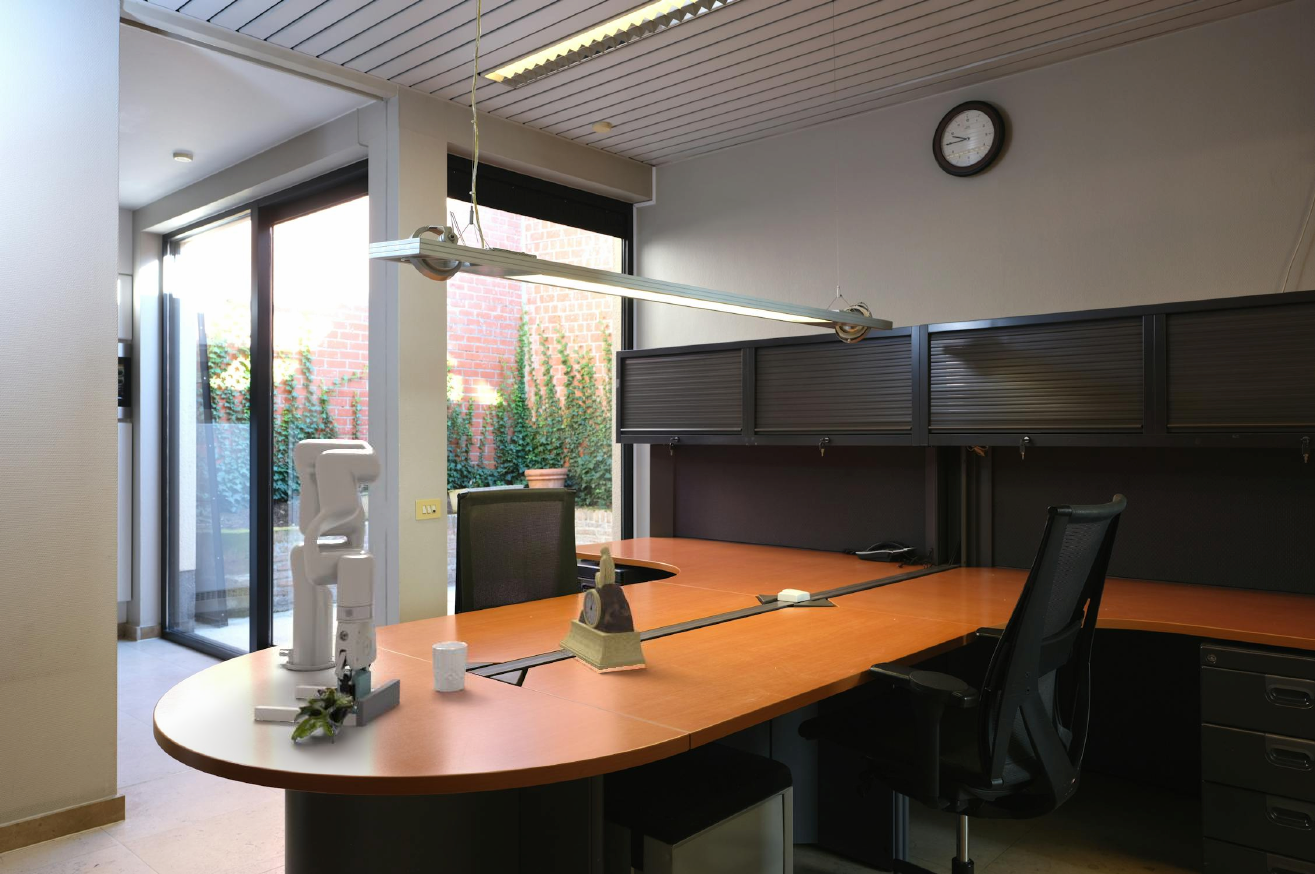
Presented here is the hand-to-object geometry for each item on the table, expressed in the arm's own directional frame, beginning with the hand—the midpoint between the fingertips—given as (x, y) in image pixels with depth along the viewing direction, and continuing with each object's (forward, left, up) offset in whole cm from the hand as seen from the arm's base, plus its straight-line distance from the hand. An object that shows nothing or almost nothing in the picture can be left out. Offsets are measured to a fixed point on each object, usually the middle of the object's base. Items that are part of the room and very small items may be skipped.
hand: (354, 698), depth 186 cm
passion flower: (+3, -16, -3) cm, 17 cm away
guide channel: (-5, 0, -3) cm, 6 cm away
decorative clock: (+41, +55, -3) cm, 69 cm away
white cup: (+13, +21, -3) cm, 25 cm away
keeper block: (0, 0, -1) cm, 1 cm away
